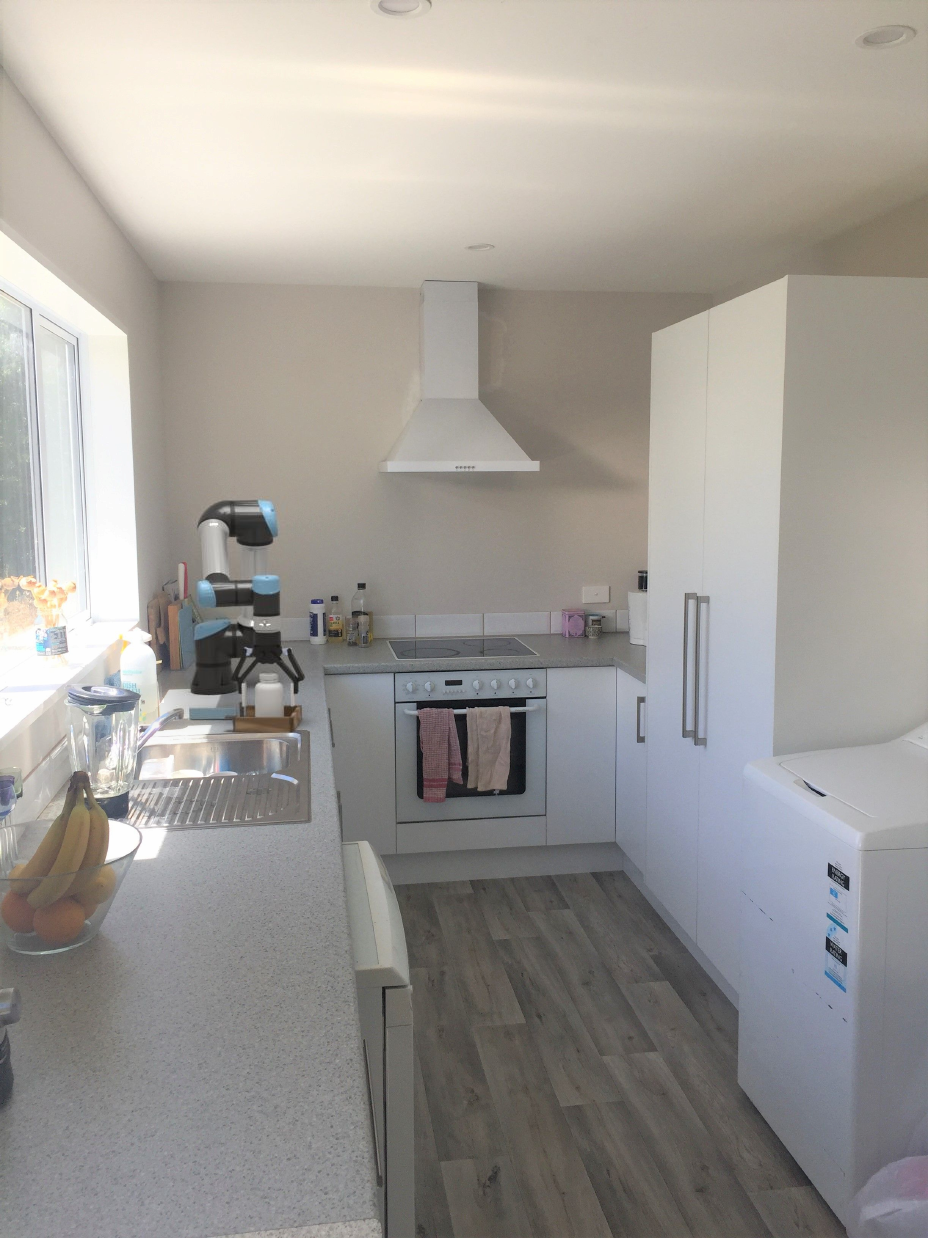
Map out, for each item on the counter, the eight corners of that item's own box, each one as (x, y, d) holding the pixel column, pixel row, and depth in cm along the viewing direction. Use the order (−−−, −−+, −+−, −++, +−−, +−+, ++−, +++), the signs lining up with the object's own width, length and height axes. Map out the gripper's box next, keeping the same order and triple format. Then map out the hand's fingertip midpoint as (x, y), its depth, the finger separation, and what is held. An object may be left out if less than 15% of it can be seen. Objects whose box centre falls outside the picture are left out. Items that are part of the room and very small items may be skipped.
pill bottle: (274, 729, 264) (273, 676, 262) (249, 727, 267) (248, 674, 265) (289, 723, 272) (288, 671, 270) (265, 721, 275) (264, 669, 273)
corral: (237, 718, 277) (237, 702, 277) (302, 718, 278) (301, 701, 277) (225, 732, 261) (224, 714, 261) (293, 732, 262) (292, 714, 261)
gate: (237, 718, 277) (236, 707, 277) (236, 718, 276) (236, 708, 276) (190, 718, 277) (190, 707, 276) (189, 718, 276) (189, 708, 276)
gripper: (219, 632, 262) (221, 708, 265) (310, 632, 263) (311, 708, 265) (225, 628, 270) (227, 702, 272) (313, 628, 270) (315, 702, 273)
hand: (268, 705), depth 269 cm, fingers open, 13 cm apart
